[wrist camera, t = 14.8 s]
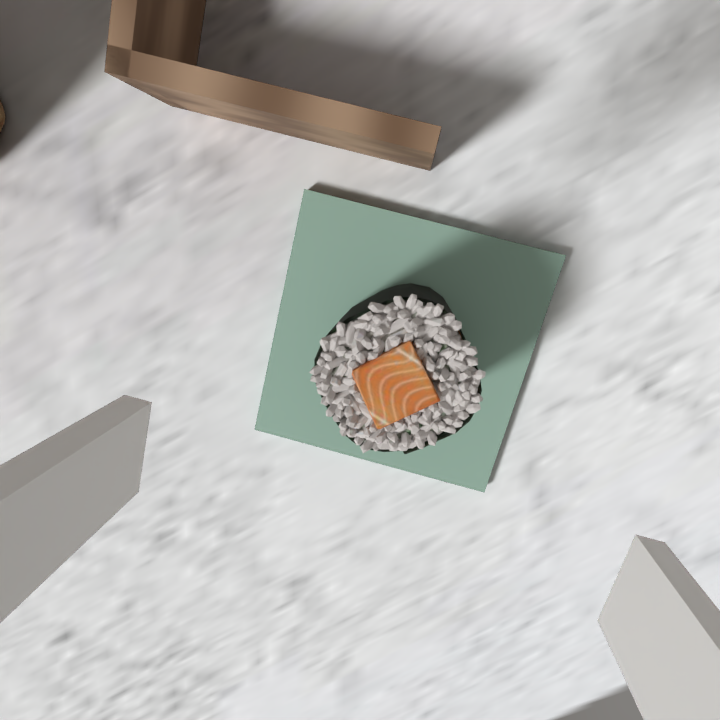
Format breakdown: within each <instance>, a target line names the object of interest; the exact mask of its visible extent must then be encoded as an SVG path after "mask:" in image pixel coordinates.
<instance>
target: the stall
mask: <svg viewBox="0 0 720 720" xmlns="http://www.w3.org/2000/svg"><path fill="white" fill-rule="evenodd" d="M205 4H206V0H112V4H111V13H110V23H109V33H108V42H107V52H106V62H105V71H104V72H106V73H108V74H110V75H112V76H114V77H116V78H118V79H120V80H122V81H123V82H125V83H127V84H129V85H131V86H133V87H135V88H137V89H139V90H141V91H143V92H145V93H147V94H149V95H151V96H153V97H155V98H157V99H159V100H161V101H162V102H164V103H166V104H168V105H170V106H173V107H177V108H181V109H185V110H189V111H193V112H197V113H201V114H205V115H209V116H213V117H217V118H221V119H225V120H229V121H233V122H237V123H241V124H245V125H249V126H253V127H257V128H261V129H265V130H269V131H273V132H277V133H281V134H285V135H289V136H293V137H297V138H301V139H305V140H309V141H313V142H317V143H321V144H325V145H329V146H333V147H337V148H341V149H345V150H349V151H353V152H357V153H361V154H365V155H369V156H373V157H377V158H381V159H385V160H389V161H393V162H397V163H401V164H405V165H409V166H413V167H417V168H421V169H425V170H429V171H430V169H431V165H432V162H433V158H434V154H435V150H436V146H437V143H438V139H439V135H440V131H441V126H437V125H433V124H429V123H425V122H421V121H417V120H413V119H409V118H404V117H400V116H396V115H392V114H388V113H384V112H380V111H376V110H372V109H368V108H364V107H360V106H356V105H352V104H348V103H344V102H340V101H336V100H331V99H327V98H323V97H319V96H315V95H311V94H307V93H303V92H299V91H295V90H291V89H287V88H283V87H279V86H275V85H271V84H267V83H263V82H258V81H254V80H250V79H246V78H242V77H238V76H234V75H230V74H226V73H222V72H218V71H214V70H210V69H206V68H202V67H198V66H197V59H198V52H199V45H200V38H201V31H202V24H203V17H204V10H205Z"/></svg>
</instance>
